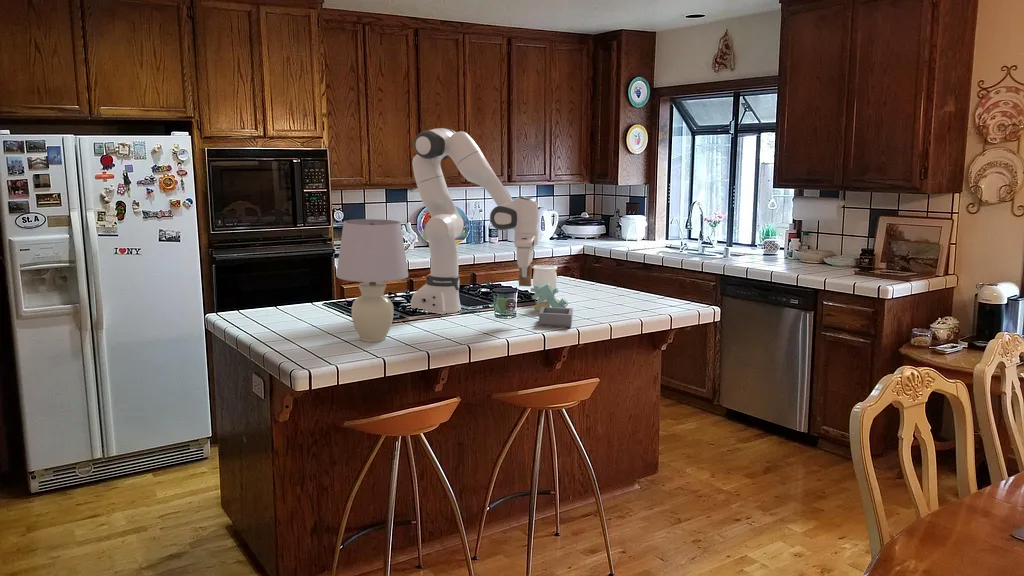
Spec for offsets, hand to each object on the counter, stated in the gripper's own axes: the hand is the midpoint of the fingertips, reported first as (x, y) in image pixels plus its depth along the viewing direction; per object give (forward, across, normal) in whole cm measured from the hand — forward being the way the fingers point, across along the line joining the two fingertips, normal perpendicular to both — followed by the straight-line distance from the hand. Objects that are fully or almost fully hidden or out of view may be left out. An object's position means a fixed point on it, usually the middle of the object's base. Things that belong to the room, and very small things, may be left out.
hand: (525, 276), depth 297 cm
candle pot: (+18, +2, +12) cm, 22 cm away
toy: (+18, -21, +8) cm, 29 cm away
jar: (+18, -41, +4) cm, 45 cm away
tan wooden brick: (+4, 0, 0) cm, 4 cm away
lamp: (+17, +40, -48) cm, 64 cm away
